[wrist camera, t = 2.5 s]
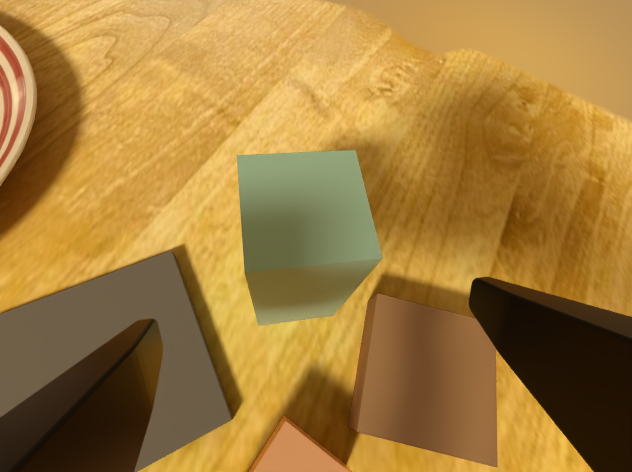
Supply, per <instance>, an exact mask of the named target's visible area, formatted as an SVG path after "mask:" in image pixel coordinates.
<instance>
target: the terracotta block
mask: <svg viewBox="0 0 632 472" xmlns="http://www.w3.org/2000/svg"><path fill="white" fill-rule="evenodd" d="M248 472H352V471H351V470H350V469H349V468H348V466H347V465H346V464H344V463H343V462H342V461H341V460H339V459H338V458H337V457H335V456H334V455H333V454H332V453H330V452H329V451H328V450H327V449H325V448H324V447H323V446H322V445H320V444H319V443H318V442H317V441H315V440H314V439H313V438H312V437H310V436H309V435H308V434H307V433H305V432H304V431H303V430H302V429H300V428H299V427H298V426H297V425H295V424H294V423H293V422H292V421H290V420H289V419H288V418H287V417H285V416H283V418H282V419H281V421H280V423H279V424H278V426H277V427H276V429H275V430H274V432H273V434H272V435H271V437H270V438H269V440H268V441H267V443H266V445H265V446H264V448H263V449H262V451H261V452H260V454H259V455H258V457H257V459H256V460H255V462H254V463H253V465H252V466H251V468H250V470H249V471H248Z"/></svg>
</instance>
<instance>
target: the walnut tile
mask: <svg viewBox="0 0 632 472" xmlns="http://www.w3.org/2000/svg"><path fill="white" fill-rule="evenodd" d="M348 427H349V428H351V429H353V430H354V431H356V432H359V433H363V434H367V435H371V436H375V437H379V438H383V439H387V440H391V441H395V442H399V443H403V444H406V445H410V446H414V447H418V448H422V449H426V450H430V451H434V452H438V453H442V454H446V455H450V456H454V457H458V458H462V459H466V460H470V461H474V462H477V463H481V464H485V465H489V466H493V467H497V407H496V348H495V346H494V345H493V343H492V342H491V340H490V339H489V337H488V336H487V334H486V333H485V331H484V330H483V328H482V327H481V325H480V324H479V322H478V321H477V319H476V318H472V317H468V316H464V315H460V314H456V313H452V312H449V311H445V310H441V309H437V308H433V307H429V306H425V305H421V304H418V303H414V302H410V301H406V300H402V299H398V298H394V297H390V296H386V295H383V294H379V293H377V294H376V295H375V296H374V297H373V298H371V299H370V300H369V301H368V304H367V311H366V317H365V323H364V329H363V336H362V342H361V348H360V355H359V361H358V367H357V374H356V380H355V386H354V392H353V399H352V405H351V411H350V418H349V424H348Z"/></svg>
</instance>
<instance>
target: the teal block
mask: <svg viewBox="0 0 632 472" xmlns="http://www.w3.org/2000/svg"><path fill="white" fill-rule="evenodd" d="M237 165H238V180H239V194H240V209H241V224H242V239H243V254H244V269H245V276H246V280H247V283H248V287H249V291H250V295H251V299H252V303H253V306H254V310H255V314H256V318H257V322H258V326H261V325H269V324H276V323H284V322H291V321H298V320H306V319H313V318H321V317H328V316H333V315H334V314H335V313H336V312H337V311H338V309H339V308H340V307H341V306H342V305H343V304H344V302H345V301H346V300H347V299H348V298H349V297H350V295H351V294H352V293H353V292H354V291H355V290H356V288H357V287H358V286H359V285H360V284H361V283H362V282H363V280H364V279H365V278H366V277H367V276H368V275H369V273H370V272H371V271H372V270H373V269H374V268H375V266H376V265H377V264H378V263H379V262H380V261H381V259H382V254H381V250H380V246H379V242H378V238H377V234H376V230H375V226H374V222H373V218H372V214H371V210H370V206H369V202H368V198H367V194H366V190H365V186H364V182H363V178H362V174H361V169H360V165H359V161H358V157H357V153H356V150H342V151H321V152H299V153H277V154H256V155H237Z"/></svg>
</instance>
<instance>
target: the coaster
mask: <svg viewBox="0 0 632 472" xmlns="http://www.w3.org/2000/svg"><path fill="white" fill-rule="evenodd" d="M149 318H154V319H156V320H157V322H158V326H159V330H160V334H161V338H162V342H163V357H162V362H161V368H160V373H159V379H158V384H157V390H156V396H155V401H154V406H153V411H152V414H151V418H150V421H149V425H148V428H147V431H146V435H145V438H144V441H143V445H142V448H141V451H140V455H139V458H138V461H137V464H136V468H135V471H134V472H137V471H139V470H141V469H143V468H145V467H146V466H148V465H150V464H152V463H154V462H155V461H157V460H159V459H161V458H163V457H165V456H166V455H168V454H170V453H172V452H174V451H176V450H177V449H179V448H181V447H183V446H185V445H187V444H188V443H190V442H192V441H194V440H196V439H197V438H199V437H201V436H203V435H205V434H207V433H208V432H210V431H212V430H214V429H216V428H218V427H219V426H221V425H223V424H225V423H227V422H228V421H230V420H232V419H233V416H232V413H231V410H230V407H229V404H228V402H227V399H226V396H225V393H224V390H223V388H222V385H221V382H220V379H219V377H218V374H217V371H216V368H215V365H214V363H213V360H212V357H211V354H210V351H209V349H208V346H207V343H206V340H205V337H204V335H203V332H202V329H201V326H200V323H199V321H198V318H197V315H196V312H195V309H194V307H193V304H192V301H191V298H190V296H189V293H188V290H187V287H186V284H185V282H184V279H183V276H182V273H181V270H180V268H179V265H178V262H177V259H176V256H175V254H174V253H173V252H172V251H168V252H166V253H163V254H160V255H158V256H155V257H152V258H150V259H147V260H144V261H142V262H139V263H136V264H133V265H131V266H128V267H125V268H123V269H120V270H117V271H115V272H112V273H109V274H107V275H104V276H101V277H99V278H96V279H93V280H91V281H88V282H85V283H82V284H80V285H77V286H74V287H72V288H69V289H66V290H64V291H61V292H58V293H56V294H53V295H50V296H48V297H45V298H42V299H40V300H37V301H34V302H31V303H29V304H26V305H23V306H21V307H18V308H15V309H13V310H10V311H7V312H5V313H2V314H0V417H1V416H2V415H4V414H5V413H7V412H8V411H9V410H11V409H12V408H14V407H15V406H17V405H18V404H19V403H21V402H22V401H24V400H25V399H27V398H28V397H29V396H31V395H32V394H34V393H35V392H36V391H38V390H39V389H41V388H42V387H44V386H45V385H46V384H48V383H49V382H51V381H52V380H53V379H55V378H56V377H58V376H59V375H61V374H62V373H63V372H65V371H66V370H68V369H69V368H70V367H72V366H73V365H75V364H76V363H78V362H79V361H80V360H82V359H83V358H85V357H86V356H88V355H89V354H90V353H92V352H93V351H95V350H96V349H97V348H99V347H100V346H102V345H103V344H105V343H106V342H107V341H109V340H110V339H112V338H113V337H114V336H116V335H117V334H119V333H120V332H122V331H123V330H124V329H126V328H127V327H129V326H130V325H131V324H133V323H134V322H136V321H137V320H141V319H149Z"/></svg>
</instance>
